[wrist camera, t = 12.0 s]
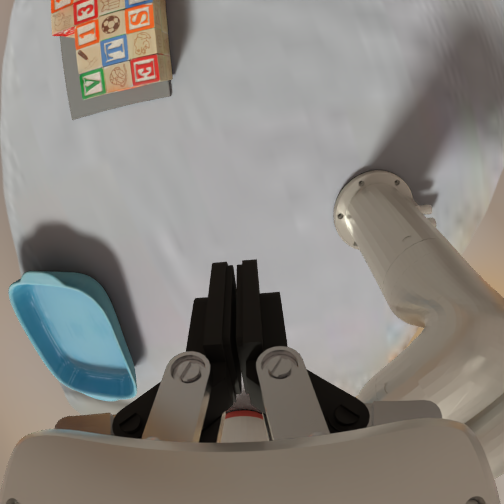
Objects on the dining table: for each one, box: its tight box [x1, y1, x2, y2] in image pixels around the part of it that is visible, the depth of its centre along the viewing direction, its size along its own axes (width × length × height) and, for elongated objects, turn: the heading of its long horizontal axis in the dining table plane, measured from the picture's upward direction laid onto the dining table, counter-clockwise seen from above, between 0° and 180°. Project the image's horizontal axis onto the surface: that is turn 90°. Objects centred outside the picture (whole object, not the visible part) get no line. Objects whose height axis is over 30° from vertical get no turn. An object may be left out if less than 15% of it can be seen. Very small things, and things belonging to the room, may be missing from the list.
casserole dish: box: [9, 271, 137, 401], centre depth 52 cm, size 37×22×7 cm, turn 179°
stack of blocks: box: [51, 0, 173, 100], centre depth 23 cm, size 21×6×12 cm
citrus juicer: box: [220, 411, 269, 443], centre depth 67 cm, size 16×17×20 cm
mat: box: [60, 36, 171, 120], centre depth 26 cm, size 14×26×1 cm, turn 5°
